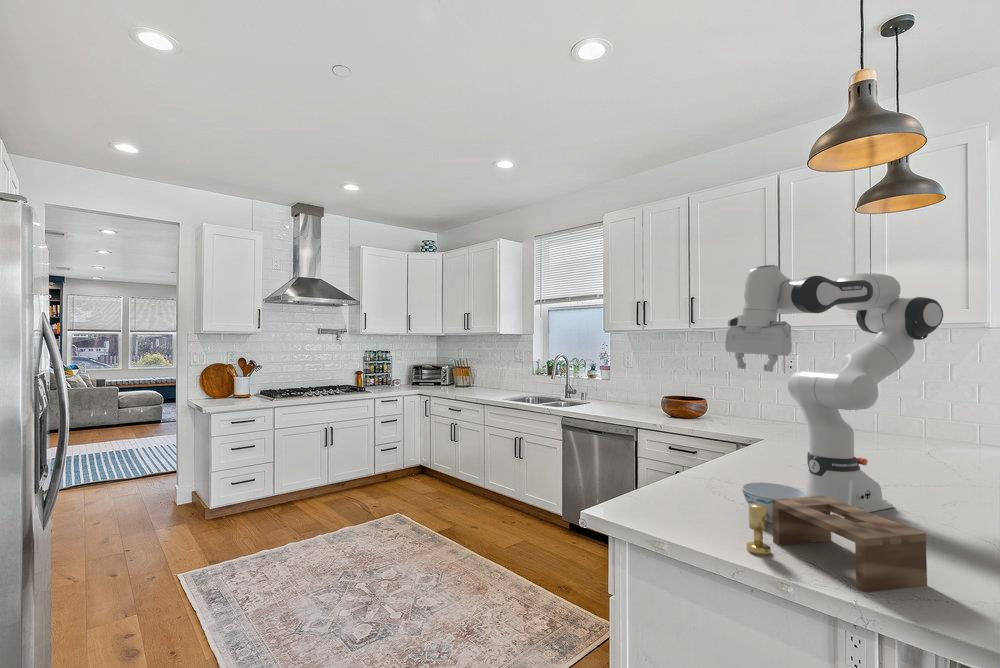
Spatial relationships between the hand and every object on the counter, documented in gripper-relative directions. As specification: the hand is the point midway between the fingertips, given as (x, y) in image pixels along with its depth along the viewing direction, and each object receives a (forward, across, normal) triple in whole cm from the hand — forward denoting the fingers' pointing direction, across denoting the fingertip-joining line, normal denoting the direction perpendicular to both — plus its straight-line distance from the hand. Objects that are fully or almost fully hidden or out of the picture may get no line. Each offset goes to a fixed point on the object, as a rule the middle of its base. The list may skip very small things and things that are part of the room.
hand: (754, 370), depth 138 cm
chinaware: (+39, -8, -3) cm, 40 cm away
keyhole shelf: (+39, -32, +5) cm, 51 cm away
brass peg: (+41, -23, +17) cm, 50 cm away
